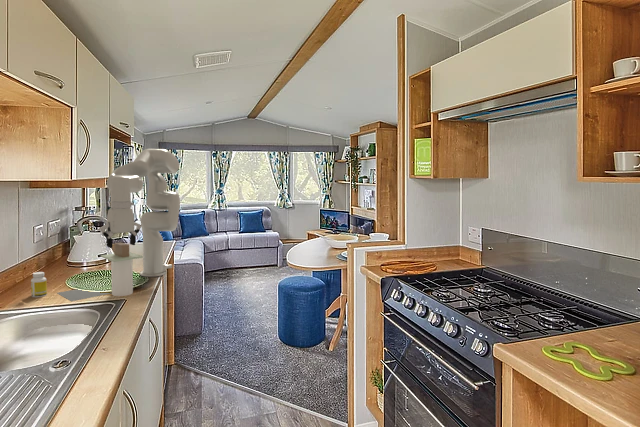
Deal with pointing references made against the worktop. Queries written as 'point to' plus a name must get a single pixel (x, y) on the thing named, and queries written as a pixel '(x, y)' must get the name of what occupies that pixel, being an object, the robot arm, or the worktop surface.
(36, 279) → the supplement bottle
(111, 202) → the robot arm
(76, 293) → the mat
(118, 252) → the lid
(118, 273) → the cup
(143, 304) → the worktop surface
